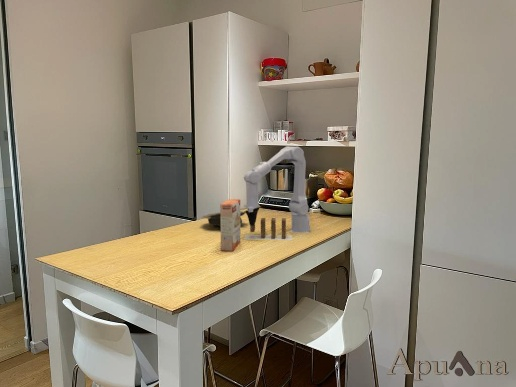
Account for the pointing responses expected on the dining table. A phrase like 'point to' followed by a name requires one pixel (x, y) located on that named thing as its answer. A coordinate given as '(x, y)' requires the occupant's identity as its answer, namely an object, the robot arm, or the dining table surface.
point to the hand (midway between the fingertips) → (252, 223)
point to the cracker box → (230, 224)
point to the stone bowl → (218, 218)
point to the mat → (267, 237)
